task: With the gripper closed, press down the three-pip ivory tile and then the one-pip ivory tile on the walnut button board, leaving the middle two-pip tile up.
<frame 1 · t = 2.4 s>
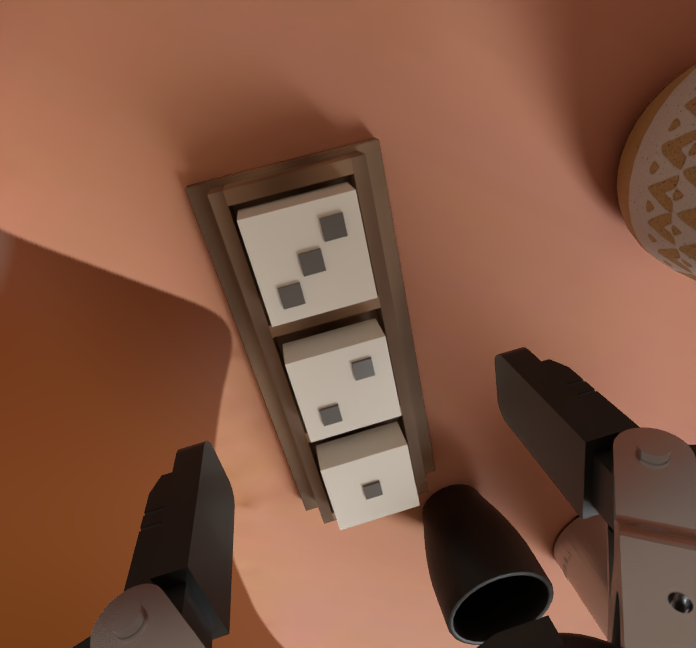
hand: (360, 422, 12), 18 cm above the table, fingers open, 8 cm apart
tile two: (343, 381, 29), point 4 cm above the table, slide at 0.0 cm
mug: (456, 517, 42), on the table
board: (333, 351, 32), on the table
tile one: (368, 476, 33), point 4 cm above the table, slide at 0.0 cm
vase: (681, 157, 31), on the table
tile three: (309, 255, 25), point 4 cm above the table, slide at 0.0 cm
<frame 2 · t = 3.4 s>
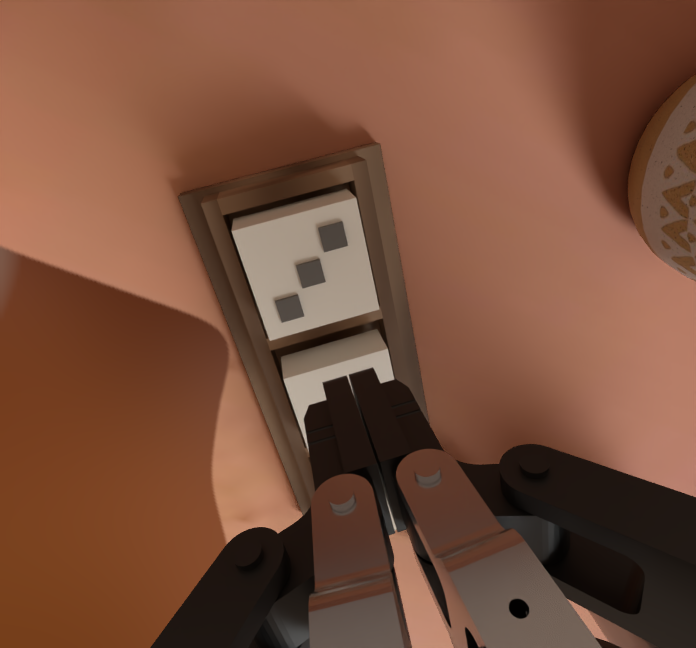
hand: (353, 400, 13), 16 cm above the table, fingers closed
tile two: (344, 394, 28), point 4 cm above the table, slide at 0.0 cm
board: (334, 362, 31), on the table
tile one: (371, 491, 32), point 4 cm above the table, slide at 0.0 cm
vase: (694, 159, 30), on the table
tile three: (308, 265, 24), point 4 cm above the table, slide at 0.0 cm
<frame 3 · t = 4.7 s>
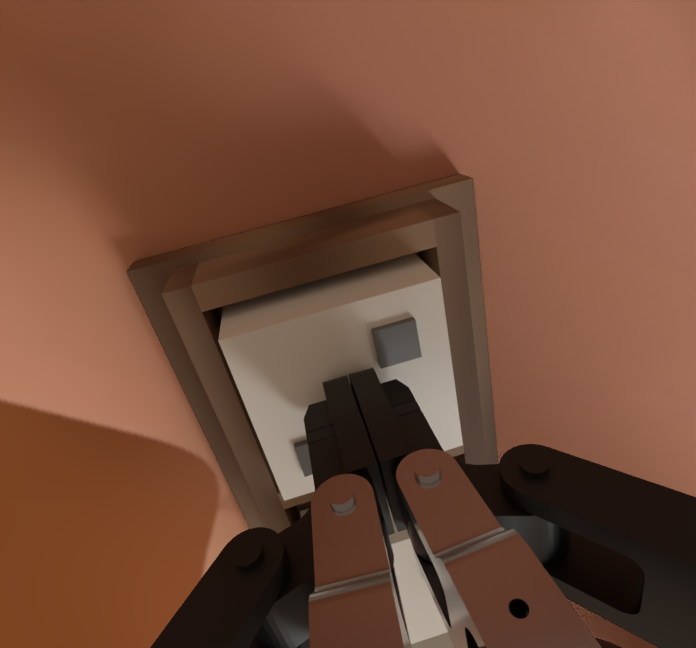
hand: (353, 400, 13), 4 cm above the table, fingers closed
tile two: (399, 567, 18), point 4 cm above the table, slide at 0.0 cm
board: (375, 491, 21), on the table
tile three: (348, 378, 14), point 3 cm above the table, slide at 0.8 cm, touching gripper
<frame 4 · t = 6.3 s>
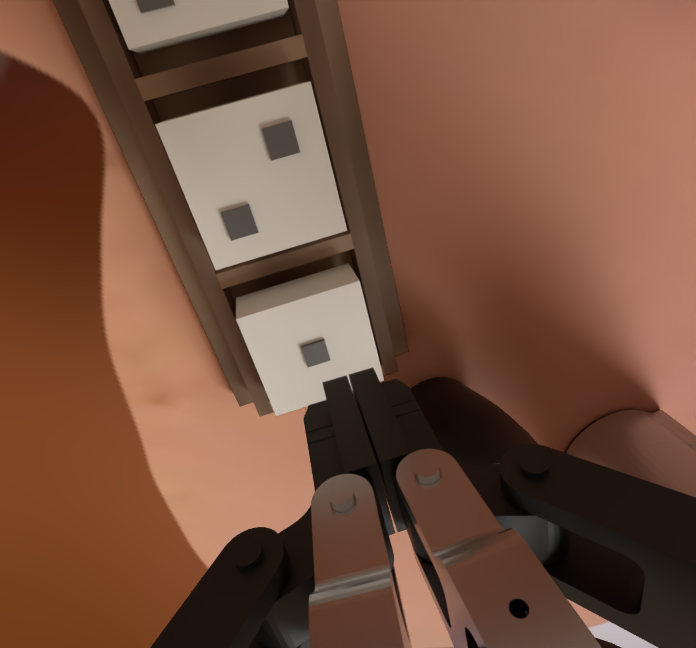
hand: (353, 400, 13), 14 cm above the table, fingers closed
tile two: (258, 177, 20), point 4 cm above the table, slide at 0.0 cm
mug: (440, 424, 34), on the table
board: (255, 164, 23), on the table
tile one: (312, 341, 24), point 4 cm above the table, slide at 0.0 cm
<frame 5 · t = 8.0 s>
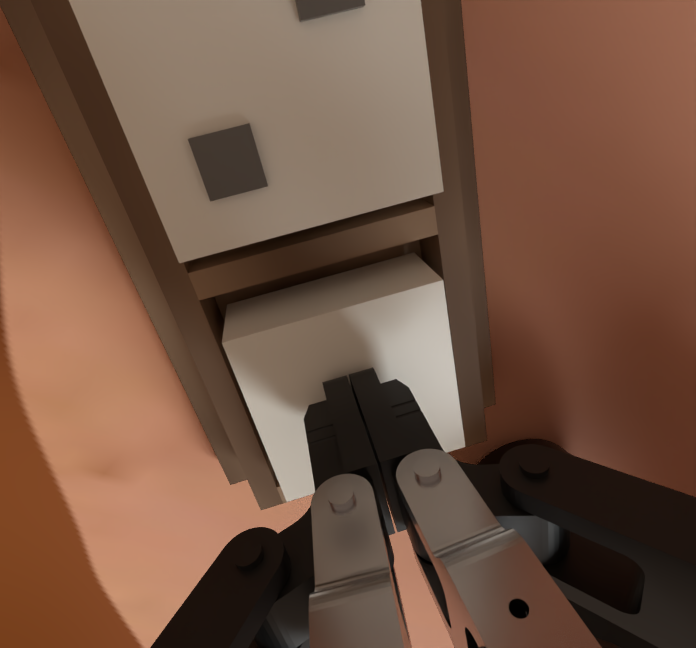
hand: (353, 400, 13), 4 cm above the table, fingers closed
tile two: (271, 77, 10), point 4 cm above the table, slide at 0.0 cm
mug: (522, 503, 23), on the table
board: (267, 83, 13), on the table
tile one: (350, 379, 14), point 3 cm above the table, slide at 0.9 cm, touching gripper
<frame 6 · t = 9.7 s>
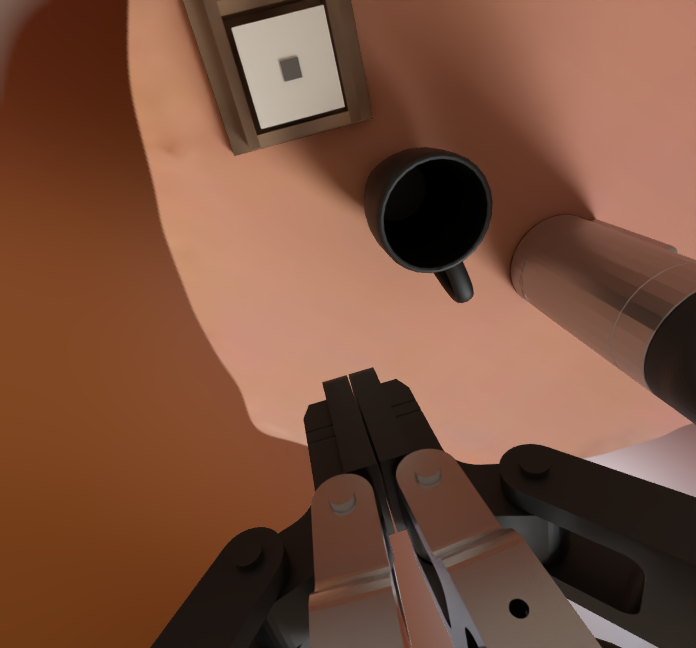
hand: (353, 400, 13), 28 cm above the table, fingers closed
mug: (403, 210, 40), on the table
tile one: (289, 70, 31), point 3 cm above the table, slide at 0.9 cm
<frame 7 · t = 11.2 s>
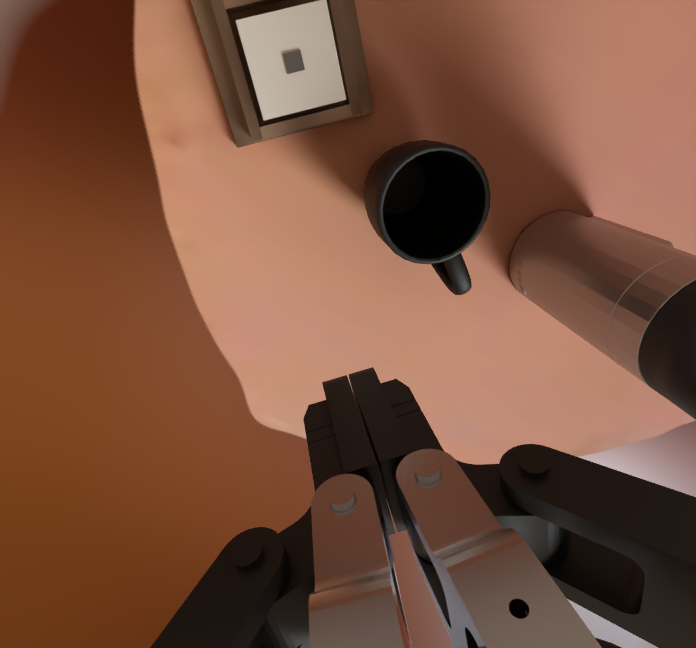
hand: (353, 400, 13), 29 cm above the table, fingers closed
mug: (403, 204, 41), on the table
tile one: (292, 63, 32), point 3 cm above the table, slide at 0.9 cm
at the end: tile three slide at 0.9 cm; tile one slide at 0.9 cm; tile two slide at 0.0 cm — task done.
